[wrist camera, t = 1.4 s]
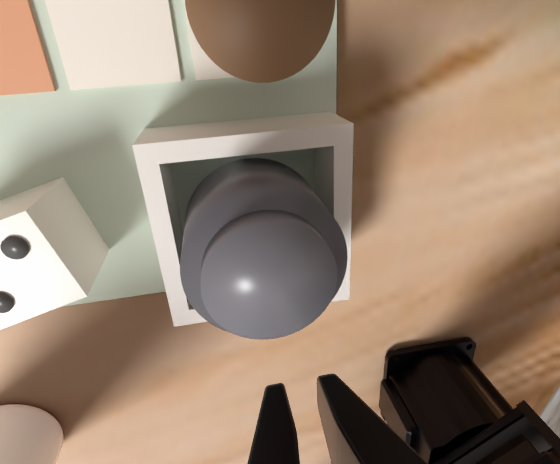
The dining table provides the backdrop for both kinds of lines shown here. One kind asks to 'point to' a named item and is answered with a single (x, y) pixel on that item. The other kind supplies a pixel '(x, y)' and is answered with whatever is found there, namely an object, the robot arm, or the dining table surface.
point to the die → (45, 252)
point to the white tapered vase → (28, 435)
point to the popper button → (260, 250)
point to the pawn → (261, 35)
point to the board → (153, 128)
